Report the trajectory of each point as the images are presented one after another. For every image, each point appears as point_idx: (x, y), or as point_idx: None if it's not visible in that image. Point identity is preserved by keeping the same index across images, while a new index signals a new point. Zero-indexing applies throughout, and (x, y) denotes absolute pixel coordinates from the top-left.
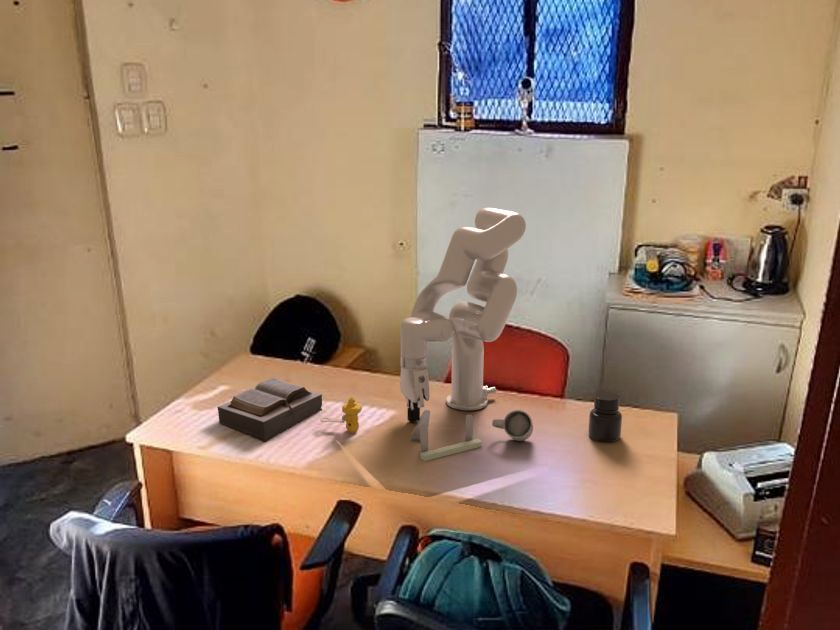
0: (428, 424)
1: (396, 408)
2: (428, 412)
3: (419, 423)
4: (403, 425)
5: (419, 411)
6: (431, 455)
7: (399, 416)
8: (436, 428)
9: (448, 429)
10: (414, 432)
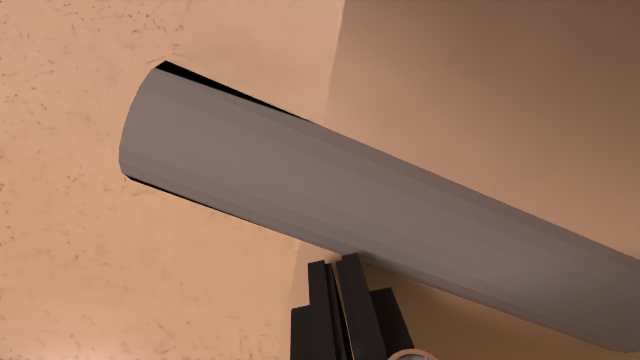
0: (422, 179)
1: (3, 344)
2: (185, 125)
3: (415, 263)
4: None
5: (374, 313)
6: None
7: (178, 348)
8: (505, 123)
9: (577, 13)
10: (532, 317)
